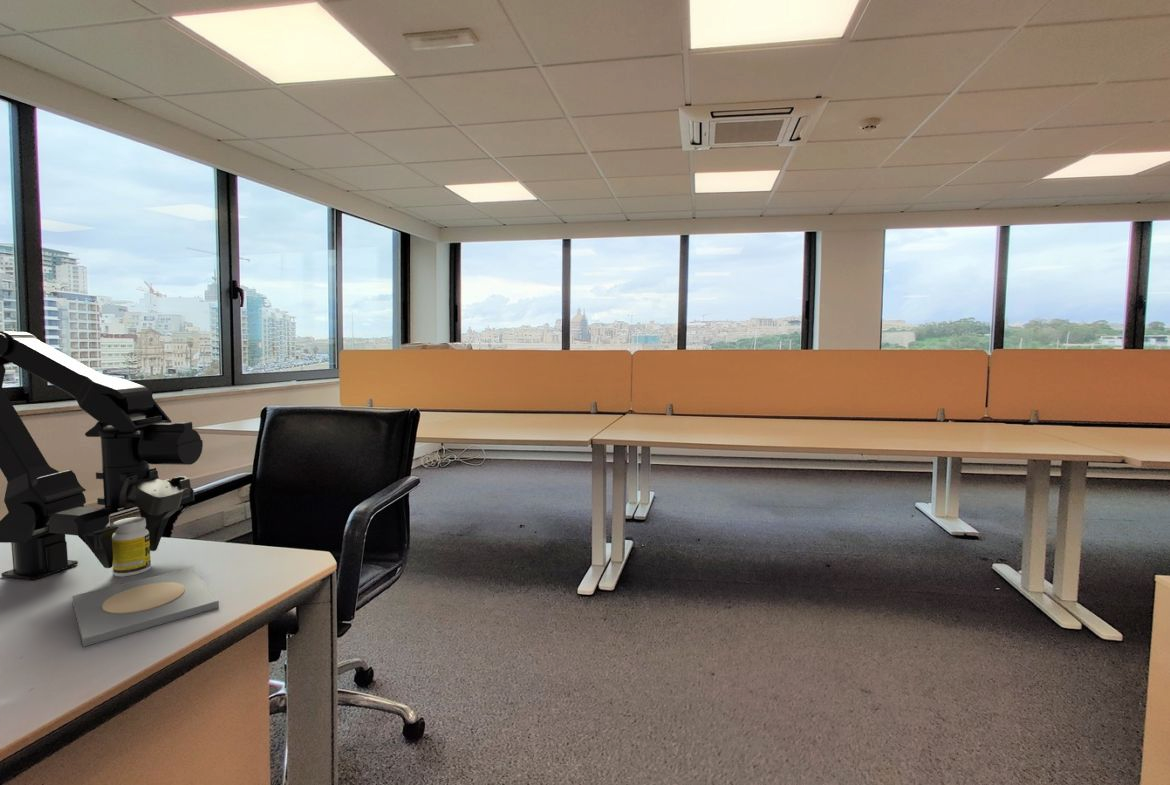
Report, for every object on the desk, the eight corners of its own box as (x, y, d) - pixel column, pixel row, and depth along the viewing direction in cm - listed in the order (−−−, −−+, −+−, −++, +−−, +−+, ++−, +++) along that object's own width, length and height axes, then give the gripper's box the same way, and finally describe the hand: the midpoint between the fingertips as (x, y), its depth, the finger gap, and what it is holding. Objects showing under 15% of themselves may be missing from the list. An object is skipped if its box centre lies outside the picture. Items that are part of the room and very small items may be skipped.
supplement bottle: (153, 571, 87) (150, 520, 86) (115, 580, 84) (112, 527, 83) (148, 562, 90) (145, 514, 90) (111, 571, 87) (108, 520, 86)
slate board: (72, 602, 76) (72, 593, 76) (192, 573, 86) (192, 565, 86) (83, 646, 65) (82, 636, 65) (218, 607, 76) (218, 598, 75)
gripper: (106, 481, 75) (113, 588, 76) (219, 455, 93) (222, 542, 95) (42, 476, 77) (49, 581, 78) (164, 451, 95) (169, 537, 96)
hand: (131, 558), depth 87 cm, fingers open, 7 cm apart
